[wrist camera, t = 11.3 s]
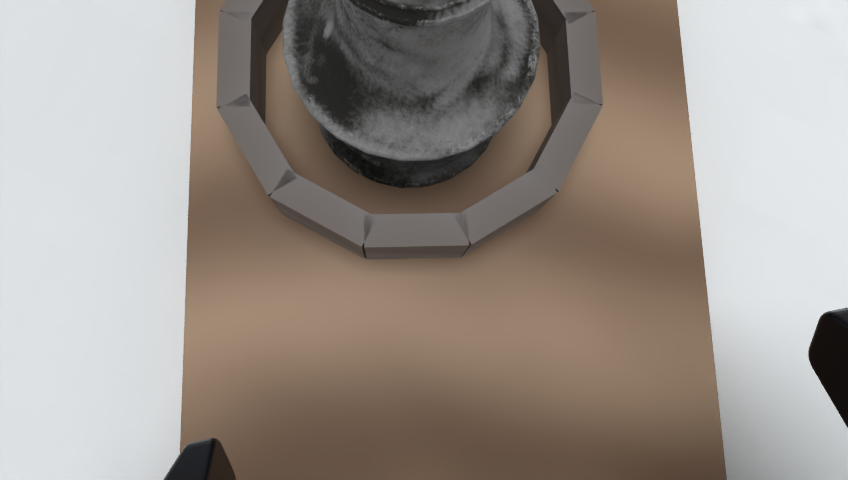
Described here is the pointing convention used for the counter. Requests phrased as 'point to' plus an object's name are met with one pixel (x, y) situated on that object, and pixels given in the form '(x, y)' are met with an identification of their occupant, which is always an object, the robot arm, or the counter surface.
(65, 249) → the counter surface
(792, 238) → the counter surface
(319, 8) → the salt shaker
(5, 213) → the counter surface
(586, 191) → the board
